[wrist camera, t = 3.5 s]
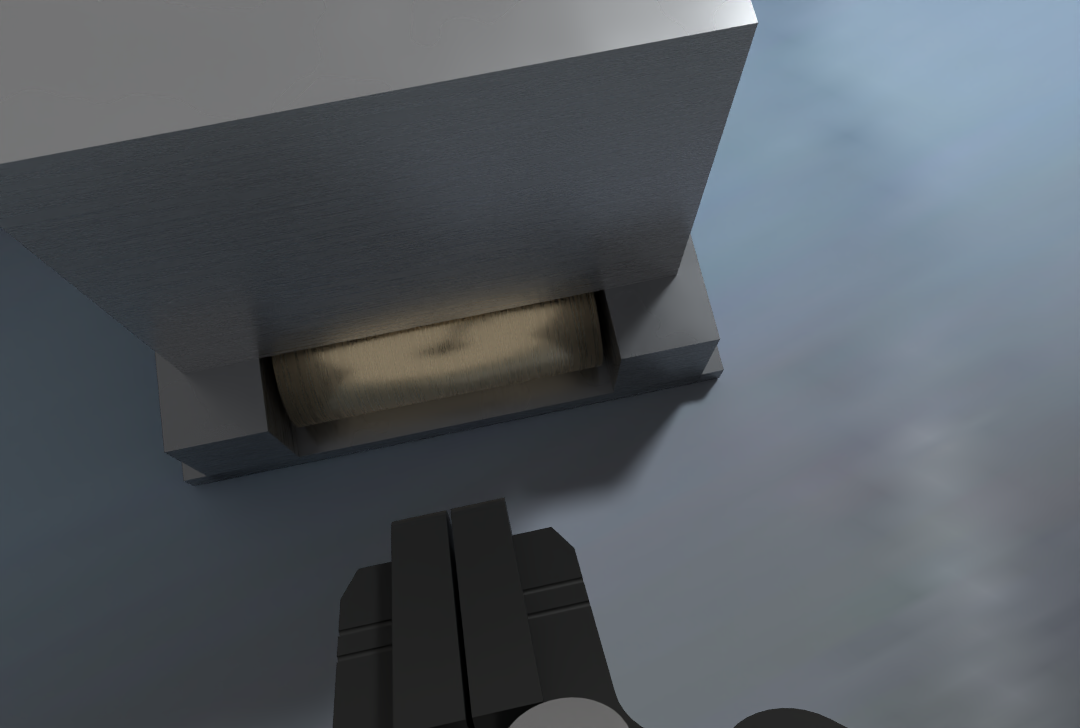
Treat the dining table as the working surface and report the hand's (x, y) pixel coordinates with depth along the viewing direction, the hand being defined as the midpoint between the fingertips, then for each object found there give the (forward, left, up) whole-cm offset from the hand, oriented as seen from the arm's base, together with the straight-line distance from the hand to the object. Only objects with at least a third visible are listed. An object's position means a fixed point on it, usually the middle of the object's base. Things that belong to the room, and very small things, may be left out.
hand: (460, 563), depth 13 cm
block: (+7, -8, -5) cm, 12 cm away
